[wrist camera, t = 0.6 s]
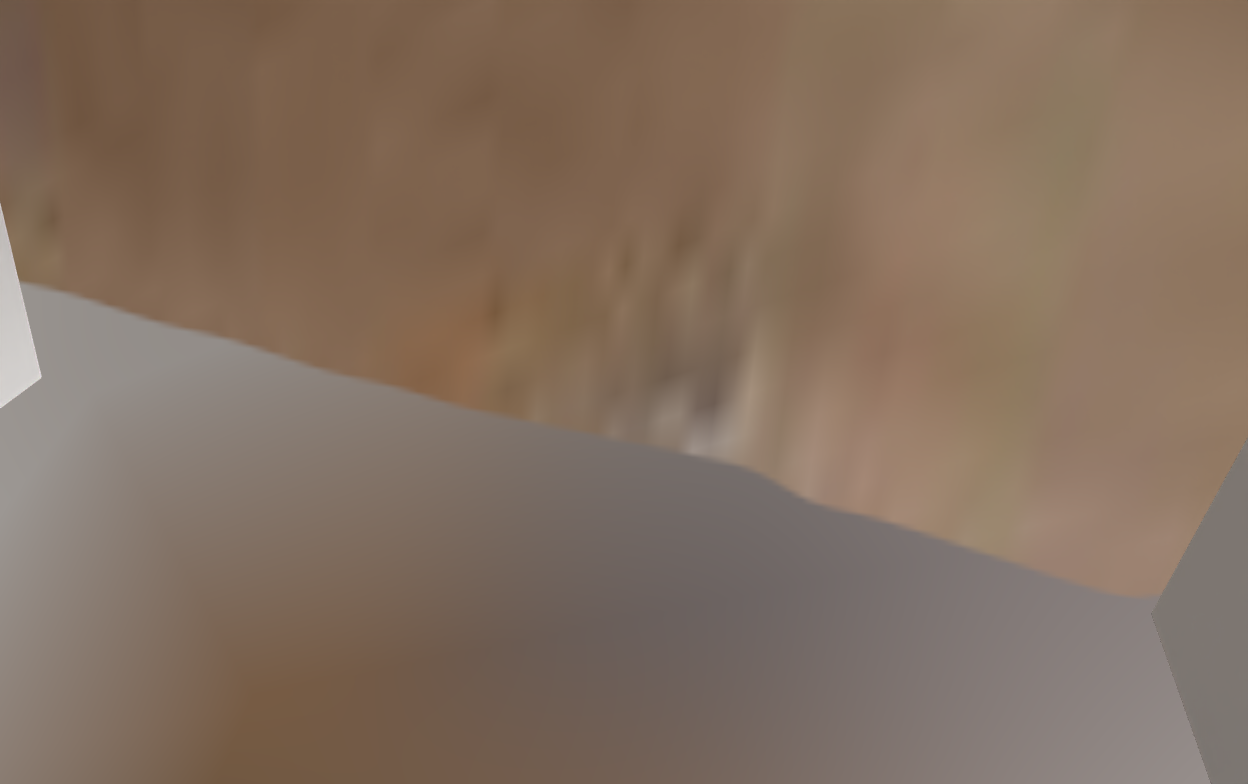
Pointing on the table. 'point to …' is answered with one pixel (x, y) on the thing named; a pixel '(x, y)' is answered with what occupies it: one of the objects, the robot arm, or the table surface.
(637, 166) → the table surface
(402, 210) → the table surface
